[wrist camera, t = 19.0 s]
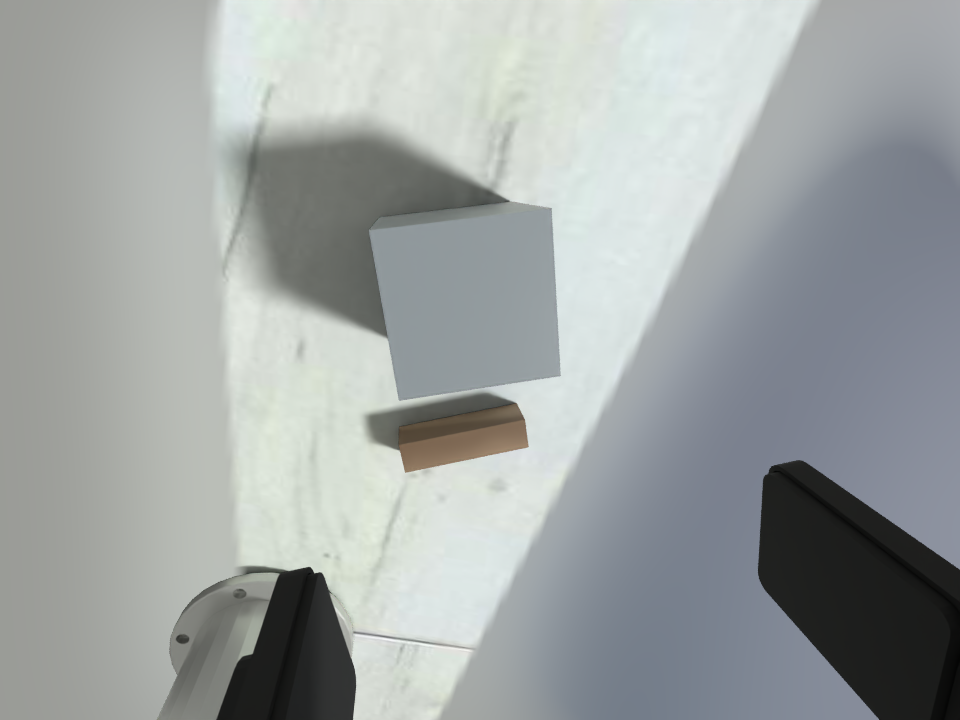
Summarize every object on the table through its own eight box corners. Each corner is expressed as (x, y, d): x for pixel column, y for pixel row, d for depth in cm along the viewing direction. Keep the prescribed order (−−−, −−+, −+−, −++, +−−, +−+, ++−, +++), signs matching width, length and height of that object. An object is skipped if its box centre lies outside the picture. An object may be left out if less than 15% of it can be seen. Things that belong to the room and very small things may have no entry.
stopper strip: (520, 429, 35) (528, 447, 32) (405, 452, 34) (405, 472, 32) (516, 403, 34) (524, 419, 32) (399, 426, 33) (398, 445, 31)
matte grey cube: (521, 326, 32) (560, 375, 24) (400, 343, 31) (398, 400, 23) (510, 201, 29) (551, 208, 21) (379, 217, 29) (368, 230, 20)
